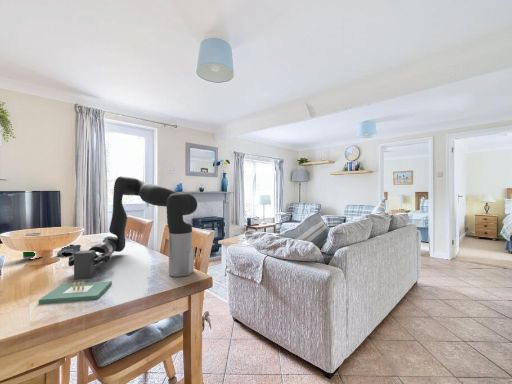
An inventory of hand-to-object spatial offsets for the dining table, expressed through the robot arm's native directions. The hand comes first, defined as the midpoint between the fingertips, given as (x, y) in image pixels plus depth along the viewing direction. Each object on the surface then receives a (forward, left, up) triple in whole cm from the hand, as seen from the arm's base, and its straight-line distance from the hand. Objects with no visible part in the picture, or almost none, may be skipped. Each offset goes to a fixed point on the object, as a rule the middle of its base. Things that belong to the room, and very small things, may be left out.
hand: (82, 263), depth 93 cm
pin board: (-9, +12, -6) cm, 16 cm away
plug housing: (0, -2, -6) cm, 6 cm away
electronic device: (+34, -34, -7) cm, 49 cm away
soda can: (+44, -24, -6) cm, 51 cm away
